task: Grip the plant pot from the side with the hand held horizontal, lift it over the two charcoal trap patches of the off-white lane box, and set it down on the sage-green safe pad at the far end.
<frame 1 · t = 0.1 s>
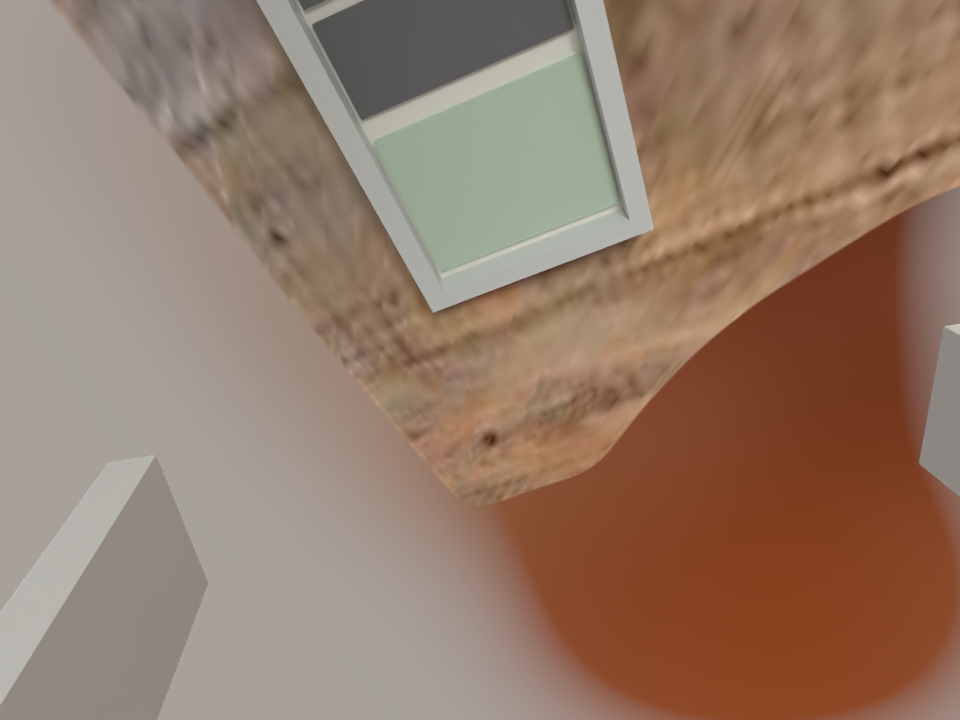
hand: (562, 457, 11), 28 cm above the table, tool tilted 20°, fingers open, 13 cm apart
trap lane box: (466, 77, 34), on the table
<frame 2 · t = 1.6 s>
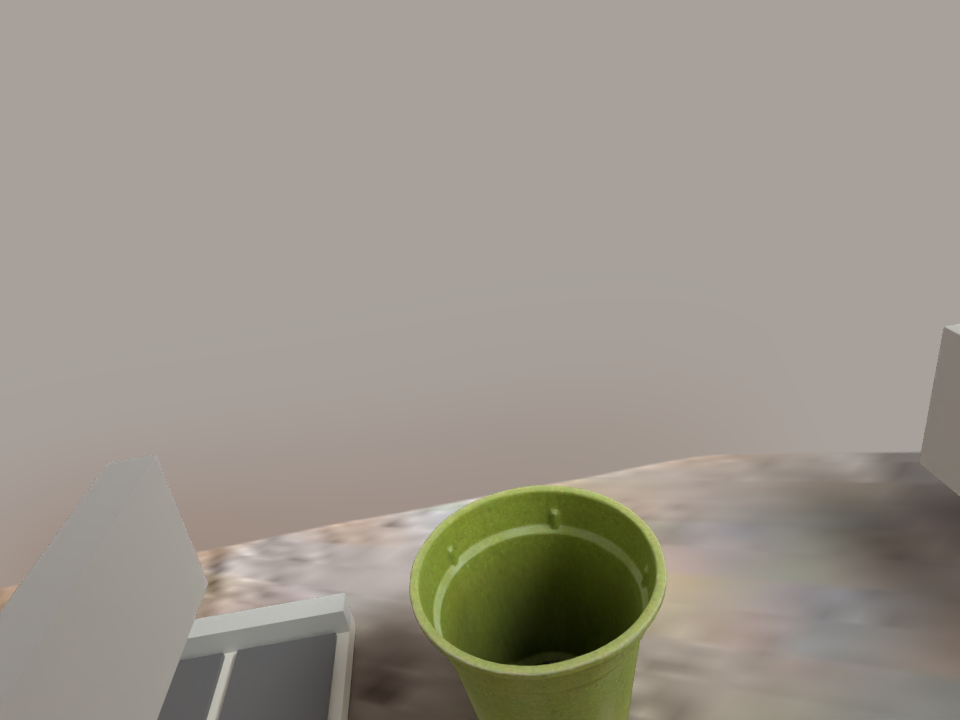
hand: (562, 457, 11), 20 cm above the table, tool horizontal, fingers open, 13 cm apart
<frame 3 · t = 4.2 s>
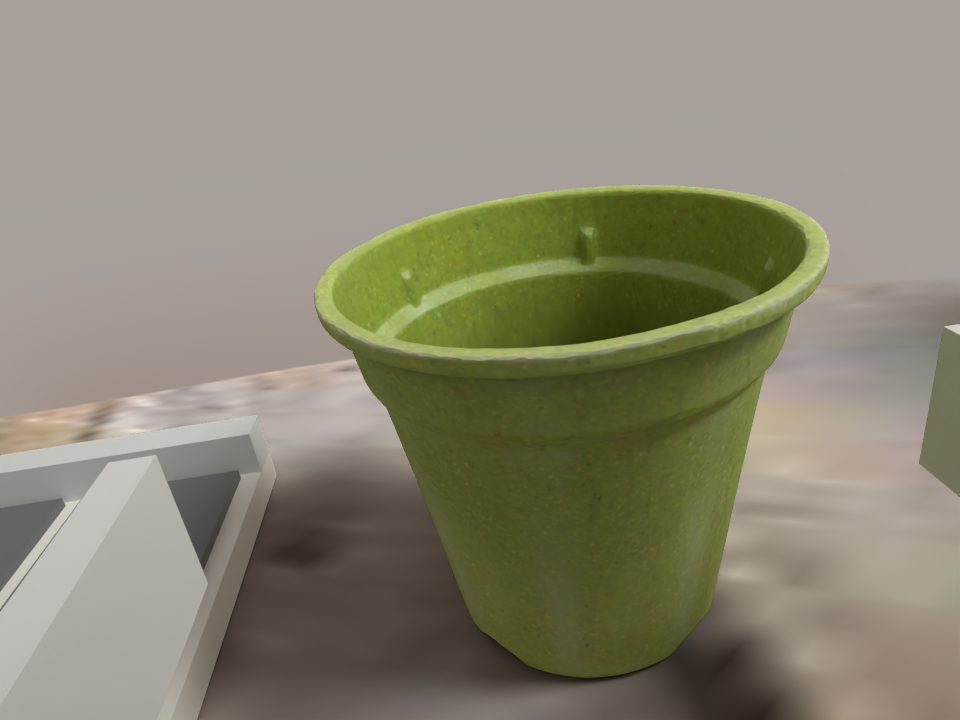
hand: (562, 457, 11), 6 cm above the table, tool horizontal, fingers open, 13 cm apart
plant pot: (586, 585, 17), on the table
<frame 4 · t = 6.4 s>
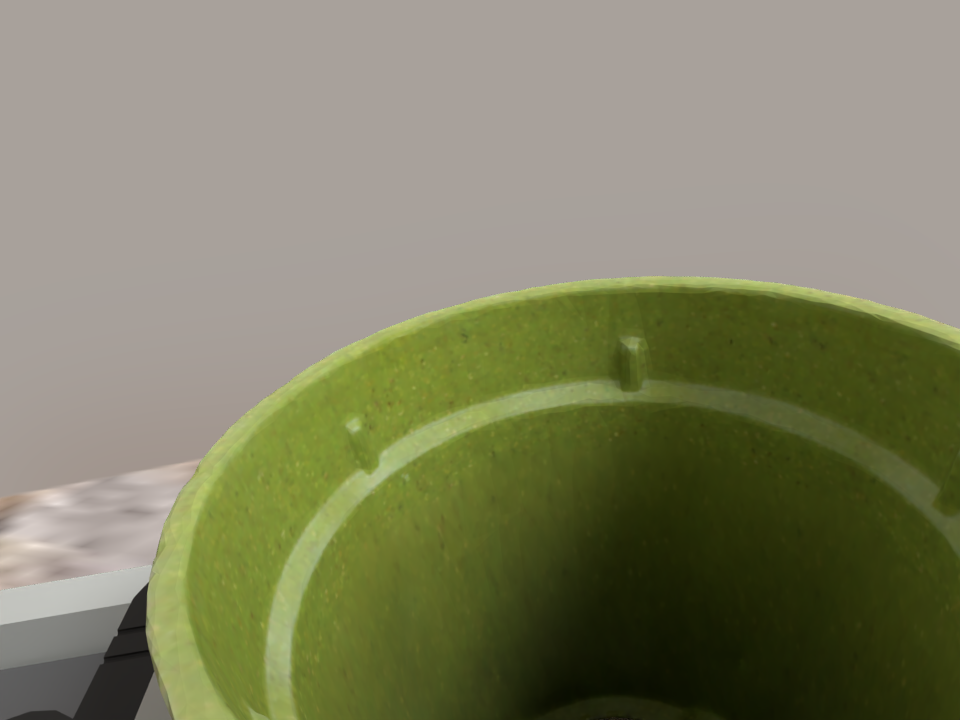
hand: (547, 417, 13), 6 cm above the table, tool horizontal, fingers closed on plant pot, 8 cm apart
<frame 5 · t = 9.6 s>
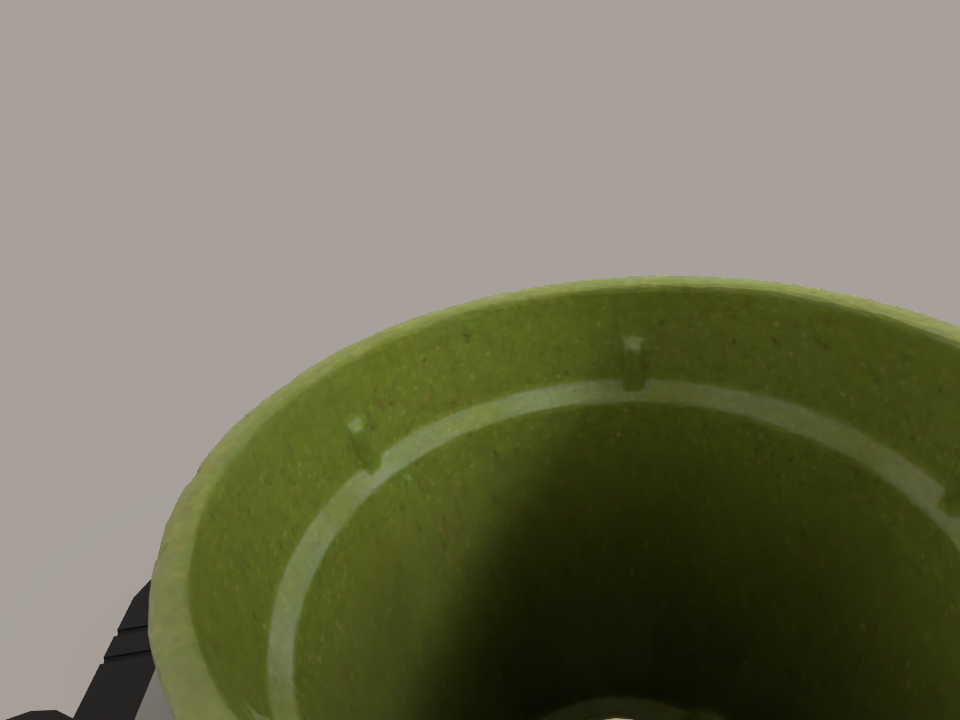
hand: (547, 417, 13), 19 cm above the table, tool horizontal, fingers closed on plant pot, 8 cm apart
when the fingers open (9 cm above the table, at t = 12.7 s): plant pot moves 3 cm, point 2 cm above the table.
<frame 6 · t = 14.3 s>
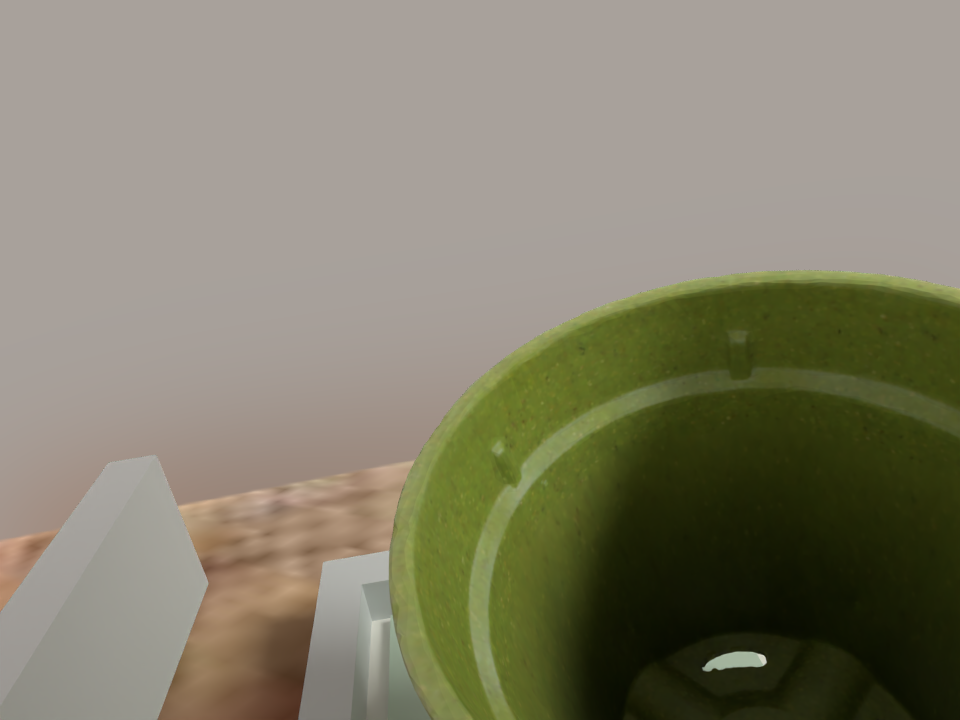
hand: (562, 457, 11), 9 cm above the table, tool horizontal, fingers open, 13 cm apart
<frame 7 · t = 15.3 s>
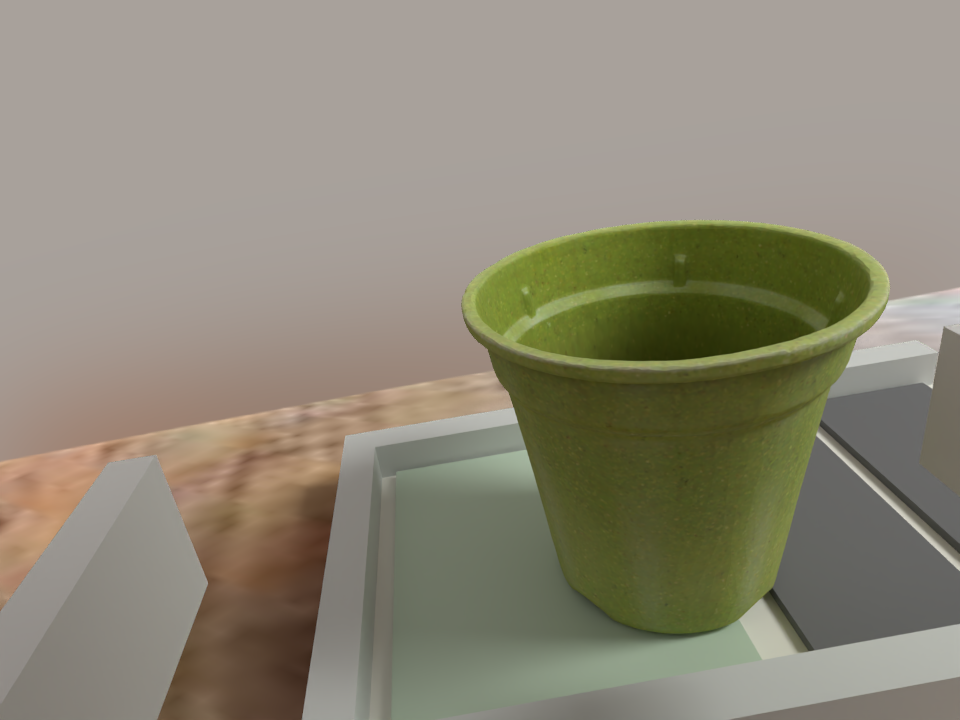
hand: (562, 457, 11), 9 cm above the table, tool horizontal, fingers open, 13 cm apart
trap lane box: (706, 555, 21), on the table
plant pot: (663, 562, 20), point 1 cm above the table, touching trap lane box
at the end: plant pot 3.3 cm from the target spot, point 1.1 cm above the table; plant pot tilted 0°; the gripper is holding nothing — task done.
